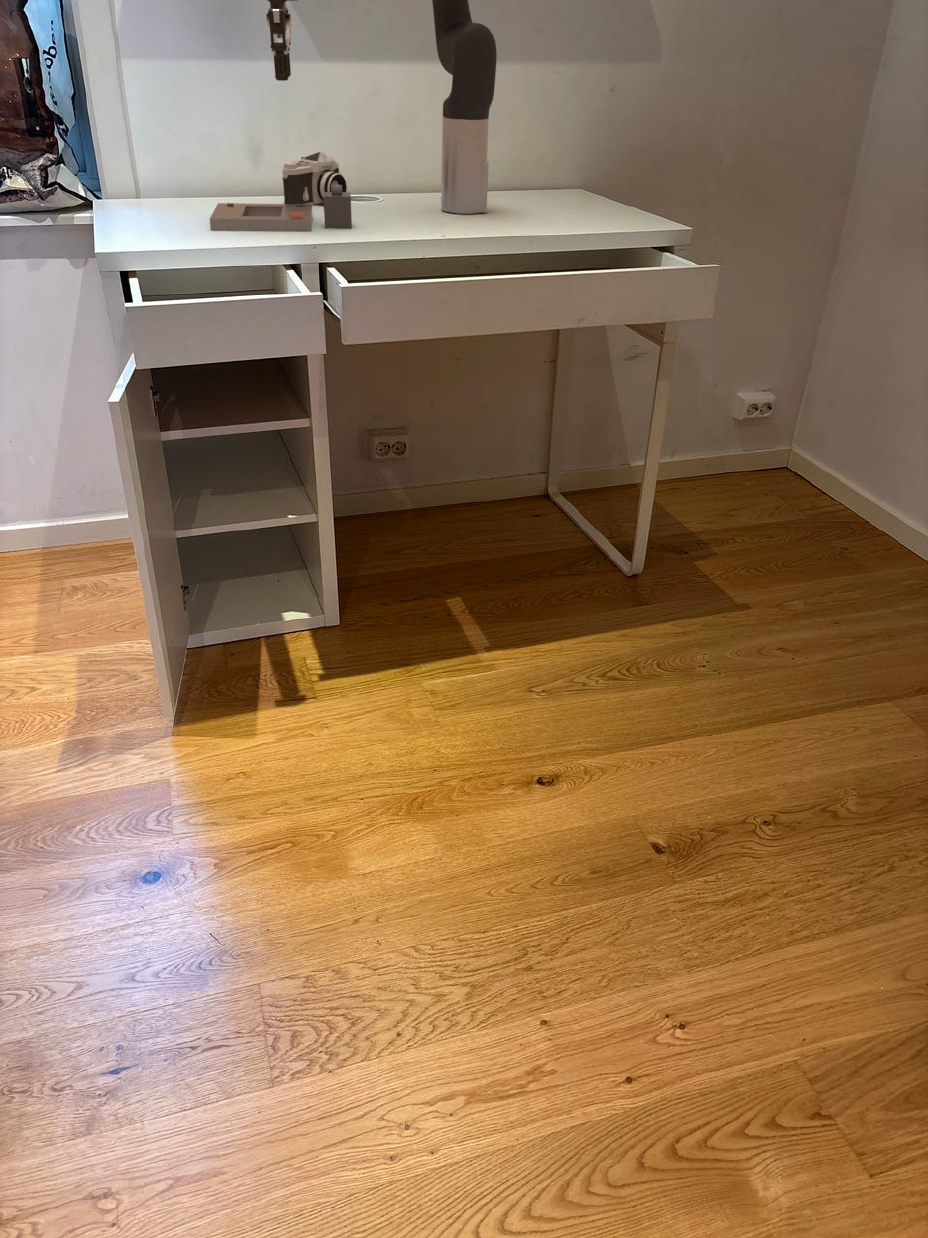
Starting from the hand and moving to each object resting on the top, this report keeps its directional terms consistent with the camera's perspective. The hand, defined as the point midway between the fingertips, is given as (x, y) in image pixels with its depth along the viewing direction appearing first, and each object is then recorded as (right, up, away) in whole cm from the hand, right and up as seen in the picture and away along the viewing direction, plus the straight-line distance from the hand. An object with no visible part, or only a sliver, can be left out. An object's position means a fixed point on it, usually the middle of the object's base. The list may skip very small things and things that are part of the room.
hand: (283, 78), depth 164 cm
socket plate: (-6, -20, +13) cm, 25 cm away
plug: (+8, -21, +13) cm, 26 cm away
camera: (+1, -8, +33) cm, 34 cm away
